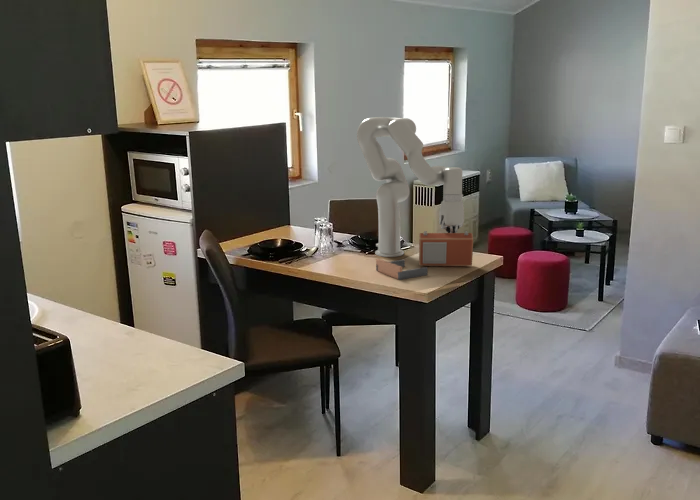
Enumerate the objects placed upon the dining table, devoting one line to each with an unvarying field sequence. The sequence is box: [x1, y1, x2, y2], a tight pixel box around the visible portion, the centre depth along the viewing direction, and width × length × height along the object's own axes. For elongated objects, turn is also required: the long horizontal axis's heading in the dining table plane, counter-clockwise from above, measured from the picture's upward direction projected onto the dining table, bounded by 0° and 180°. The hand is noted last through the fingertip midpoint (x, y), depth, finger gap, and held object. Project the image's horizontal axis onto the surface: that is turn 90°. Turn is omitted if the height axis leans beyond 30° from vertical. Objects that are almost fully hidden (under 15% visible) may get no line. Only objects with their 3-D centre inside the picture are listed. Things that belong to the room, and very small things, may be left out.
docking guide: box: [375, 258, 428, 281], centre depth 260 cm, size 16×13×5 cm
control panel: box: [418, 230, 474, 267], centre depth 268 cm, size 21×7×15 cm, turn 85°
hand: (451, 241), depth 271 cm, fingers closed
